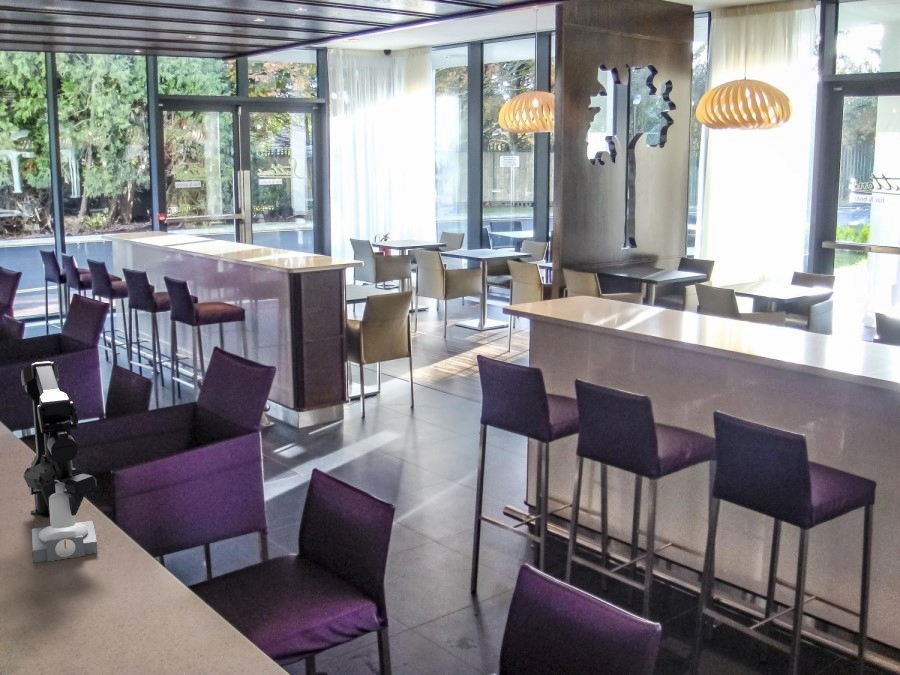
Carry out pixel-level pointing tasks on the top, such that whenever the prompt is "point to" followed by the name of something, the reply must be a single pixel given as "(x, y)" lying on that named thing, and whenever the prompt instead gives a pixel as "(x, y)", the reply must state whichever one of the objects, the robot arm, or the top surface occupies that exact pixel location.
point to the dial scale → (63, 542)
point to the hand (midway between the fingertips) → (62, 511)
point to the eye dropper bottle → (60, 508)
